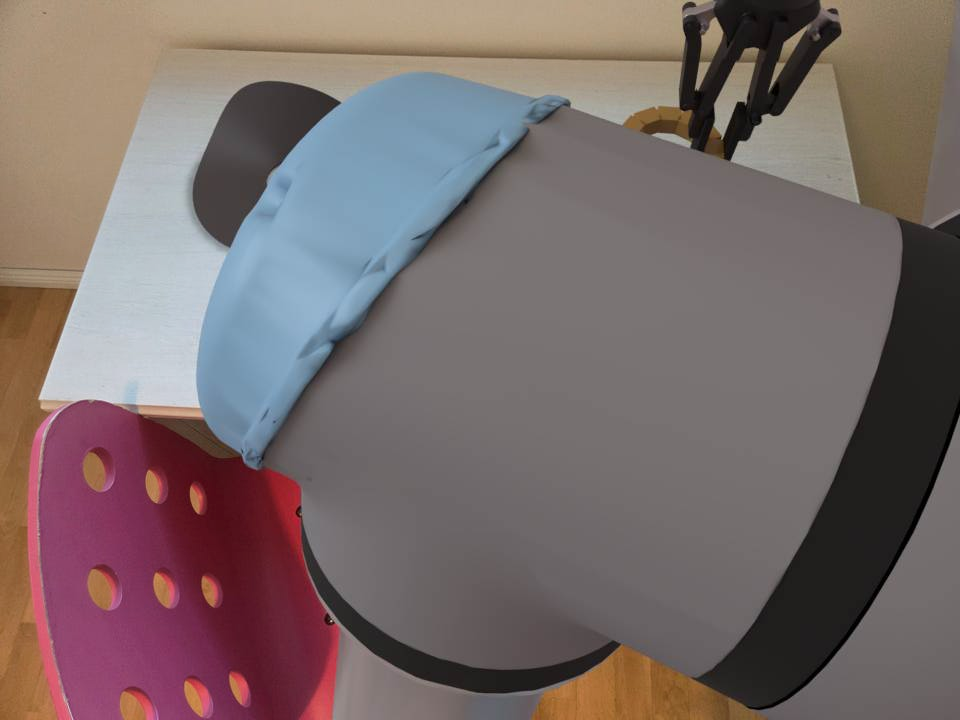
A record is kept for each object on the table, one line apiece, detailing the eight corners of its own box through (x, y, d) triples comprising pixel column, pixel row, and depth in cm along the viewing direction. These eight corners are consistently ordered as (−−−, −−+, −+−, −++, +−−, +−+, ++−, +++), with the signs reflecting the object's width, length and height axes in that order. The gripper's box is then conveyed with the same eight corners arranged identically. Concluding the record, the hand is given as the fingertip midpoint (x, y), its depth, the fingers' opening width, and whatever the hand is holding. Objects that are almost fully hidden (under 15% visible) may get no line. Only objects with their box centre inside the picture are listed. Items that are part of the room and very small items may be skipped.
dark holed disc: (161, 239, 88) (125, 188, 80) (221, 124, 97) (194, 68, 88) (348, 271, 85) (331, 222, 77) (392, 150, 94) (381, 94, 85)
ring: (720, 202, 71) (725, 189, 69) (611, 193, 71) (614, 180, 70) (717, 124, 76) (722, 109, 74) (615, 117, 76) (618, 102, 75)
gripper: (890, -91, 53) (779, 136, 74) (687, -99, 54) (635, 128, 75) (907, -29, 50) (786, 191, 71) (690, -39, 51) (634, 181, 72)
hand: (708, 158), depth 73 cm, fingers closed on ring, 2 cm apart
